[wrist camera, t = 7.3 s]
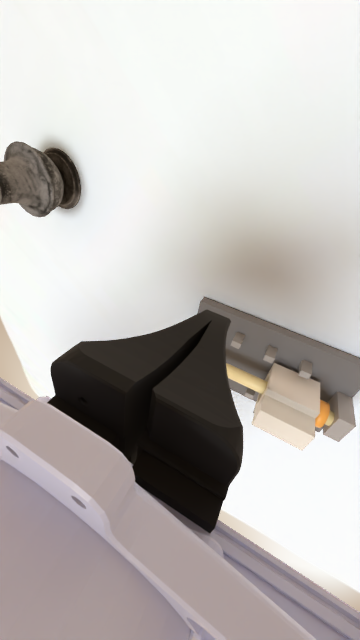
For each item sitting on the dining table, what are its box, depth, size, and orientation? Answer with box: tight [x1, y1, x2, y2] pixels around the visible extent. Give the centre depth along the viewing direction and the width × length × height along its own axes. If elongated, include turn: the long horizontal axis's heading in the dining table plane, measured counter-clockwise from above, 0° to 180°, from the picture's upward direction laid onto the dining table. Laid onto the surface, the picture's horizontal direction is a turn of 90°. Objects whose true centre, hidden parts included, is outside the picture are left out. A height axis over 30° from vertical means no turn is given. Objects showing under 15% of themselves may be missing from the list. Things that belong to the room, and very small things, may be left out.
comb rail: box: [198, 297, 360, 442], centre depth 23 cm, size 9×15×4 cm, turn 80°
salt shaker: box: [0, 142, 81, 217], centre depth 20 cm, size 6×6×12 cm
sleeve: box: [252, 363, 320, 450], centre depth 21 cm, size 3×4×5 cm
